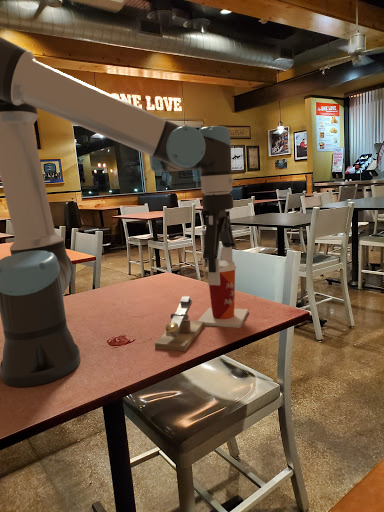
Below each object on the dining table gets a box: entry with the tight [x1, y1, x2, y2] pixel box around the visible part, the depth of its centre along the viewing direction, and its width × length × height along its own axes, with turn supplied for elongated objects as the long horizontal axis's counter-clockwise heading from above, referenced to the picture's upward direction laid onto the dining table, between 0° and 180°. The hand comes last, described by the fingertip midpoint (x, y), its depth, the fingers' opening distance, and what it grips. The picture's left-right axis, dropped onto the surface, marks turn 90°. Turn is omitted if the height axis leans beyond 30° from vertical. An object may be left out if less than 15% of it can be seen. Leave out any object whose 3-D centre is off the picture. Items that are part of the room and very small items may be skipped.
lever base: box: [154, 319, 205, 352], centre depth 85 cm, size 14×7×4 cm, turn 161°
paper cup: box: [205, 260, 237, 319], centre depth 94 cm, size 8×8×14 cm
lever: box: [165, 295, 193, 337], centre depth 84 cm, size 12×4×2 cm, turn 160°
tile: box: [197, 306, 249, 329], centre depth 95 cm, size 11×11×1 cm
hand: (221, 277), depth 93 cm, fingers open, 13 cm apart
